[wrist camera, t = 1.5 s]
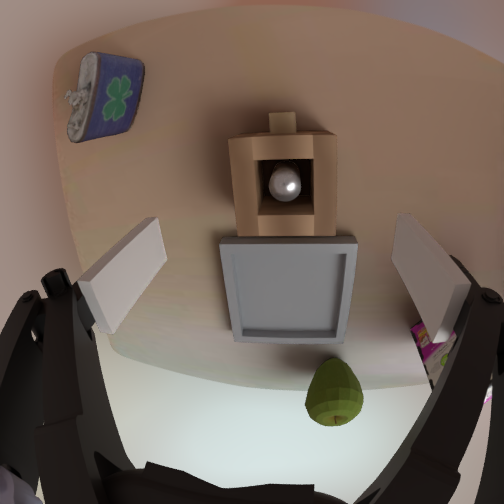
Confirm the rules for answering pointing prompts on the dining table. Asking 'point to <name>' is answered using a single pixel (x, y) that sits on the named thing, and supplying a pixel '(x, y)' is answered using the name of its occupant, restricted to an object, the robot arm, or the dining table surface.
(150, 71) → the dining table surface
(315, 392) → the apple
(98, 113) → the flask
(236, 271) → the tray
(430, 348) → the candy bar box
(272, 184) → the silver capsule
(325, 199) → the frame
